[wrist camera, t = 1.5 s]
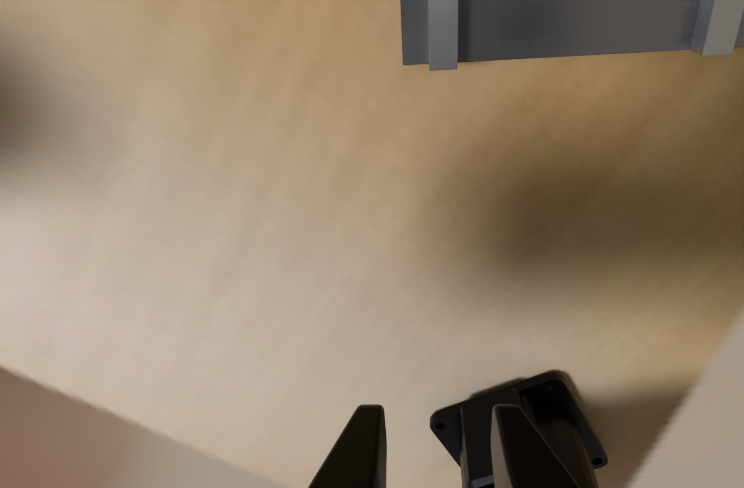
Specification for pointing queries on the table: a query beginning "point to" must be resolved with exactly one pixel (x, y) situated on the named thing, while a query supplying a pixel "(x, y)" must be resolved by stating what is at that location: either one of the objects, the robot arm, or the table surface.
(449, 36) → the grey stand with block
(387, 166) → the table surface
